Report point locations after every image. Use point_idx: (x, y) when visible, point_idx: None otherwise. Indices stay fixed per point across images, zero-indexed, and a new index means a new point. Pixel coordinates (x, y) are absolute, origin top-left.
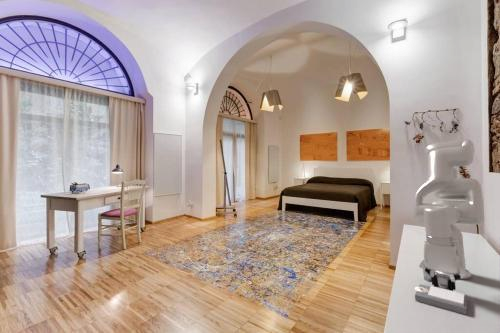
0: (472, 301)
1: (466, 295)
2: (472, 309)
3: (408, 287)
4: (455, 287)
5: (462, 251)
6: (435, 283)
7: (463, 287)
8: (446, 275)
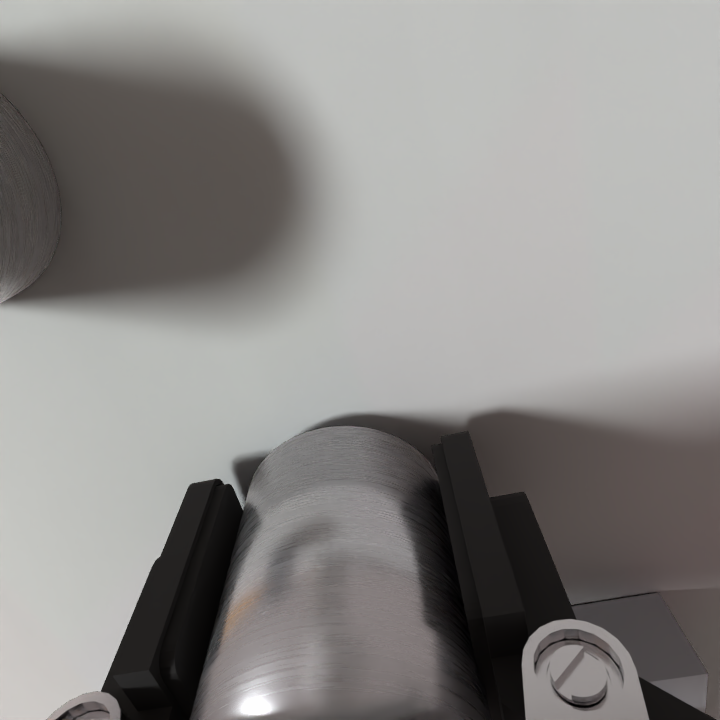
0: (716, 546)
1: (706, 678)
2: (707, 712)
3: (19, 708)
4: (526, 498)
5: None
6: None
7: (573, 37)
8: (402, 709)
